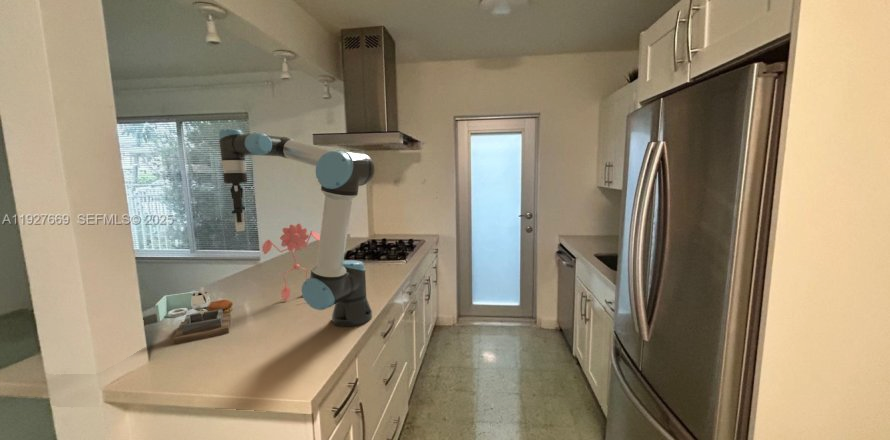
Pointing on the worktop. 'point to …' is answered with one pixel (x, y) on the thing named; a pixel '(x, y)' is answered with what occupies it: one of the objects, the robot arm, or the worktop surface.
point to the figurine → (291, 247)
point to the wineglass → (200, 302)
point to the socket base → (203, 326)
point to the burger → (221, 306)
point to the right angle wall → (174, 305)
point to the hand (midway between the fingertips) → (240, 228)
